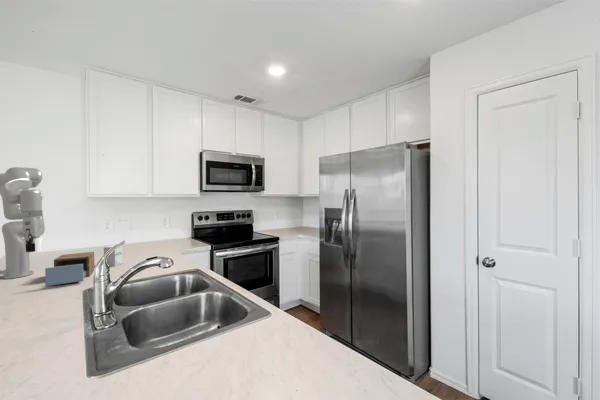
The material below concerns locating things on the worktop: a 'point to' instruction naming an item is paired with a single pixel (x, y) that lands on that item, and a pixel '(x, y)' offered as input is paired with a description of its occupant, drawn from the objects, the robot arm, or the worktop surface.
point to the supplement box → (114, 256)
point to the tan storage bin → (77, 261)
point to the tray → (64, 274)
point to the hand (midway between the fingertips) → (33, 250)
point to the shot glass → (37, 244)
